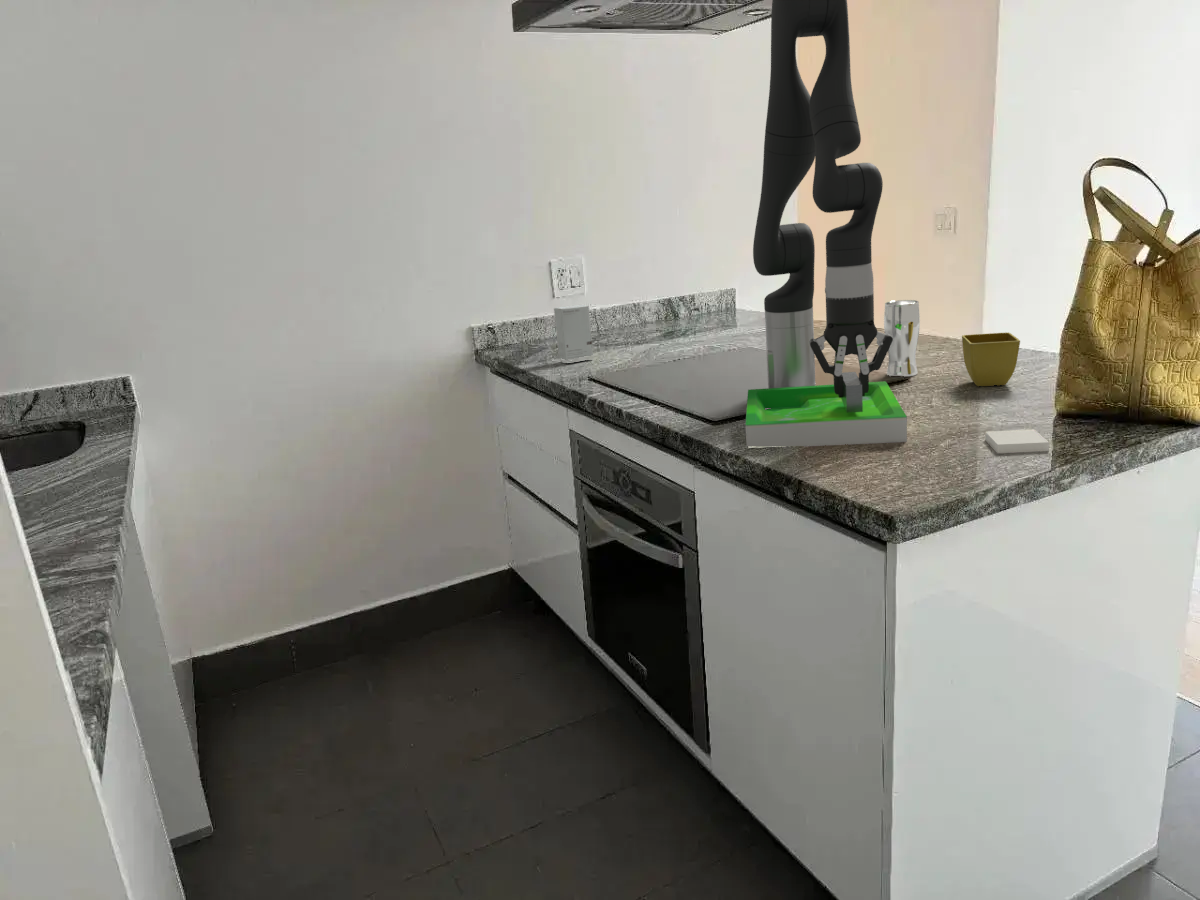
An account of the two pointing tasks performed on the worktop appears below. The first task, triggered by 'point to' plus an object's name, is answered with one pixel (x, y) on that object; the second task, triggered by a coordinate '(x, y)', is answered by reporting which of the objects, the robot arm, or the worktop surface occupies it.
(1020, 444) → the tile
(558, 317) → the skincare box
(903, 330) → the beer glass
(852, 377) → the gray rectangular block
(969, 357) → the flower pot
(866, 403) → the tray
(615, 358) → the worktop surface
